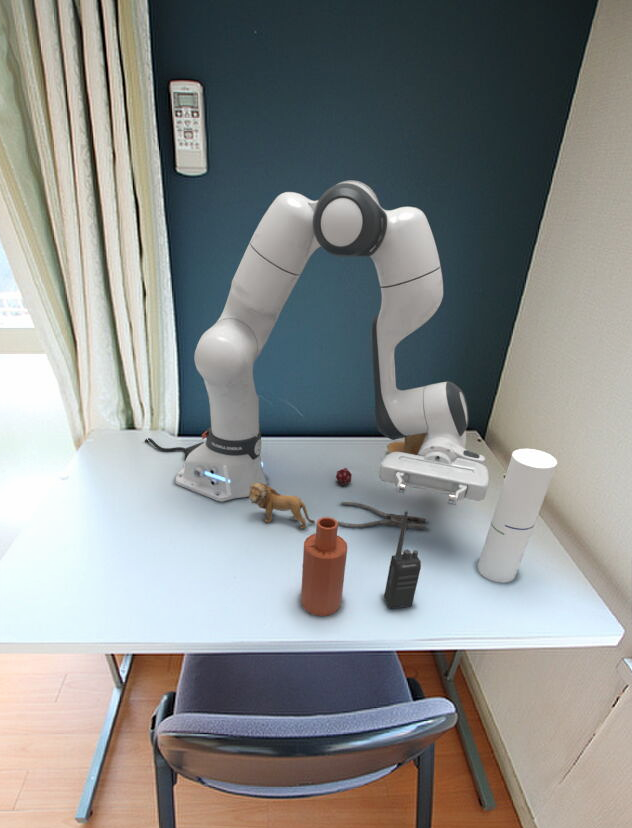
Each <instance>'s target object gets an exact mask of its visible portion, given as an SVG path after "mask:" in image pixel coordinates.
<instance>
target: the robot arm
mask: <svg viewBox="0 0 632 828" xmlns="http://www.w3.org/2000/svg"><path fill="white" fill-rule="evenodd" d="M319 248H322V249H323V251H325V252H326V253H328V254H330V255H332V256H335V257H339V258H357V257H358V258H359V257H361V258H362V257H363V258H365V257H370V259H371V260H372V262H373V264H374V268H375V270H376V274H377V279H378V283H379V286H380V293H381V294H380V295H381V302H380V308H379V312H378V313H377V315H376V316H374V317H373V319H372V322H371V329H370V331H371V333H370V341H371V343H370V347H371V359H372V361H371V362H372V373H373V384H374V385H373V388H374V419H375V425H376V429H377V431H378V432H379V433H380V434H382V436H384V437H386V438H388V439H389V440H391V441H396V440H400V439H405V437H408V436H410V435H417V434H423V433H427V435H426V437H425V439H424V441H423V444H422V446H421V448H420V450H419V452H418V454H417V455H413V454H408V453H403V452H392V453H390V454H389V453H387V454H385V457H384V458H383V459H382V461H381V463H380V466H379V471H378V478H379V479H380V480H381V481H383V482H385V483H386V482H387V483H390V484H393V485H394V486H395V487H396V490H395V491H396V493H399V494H403V495H404V494H405V492H406V490H407V487H410V488H414V489H420V490H425V491H429V492H434V493H439V494H444V495H449V496H448V501H447V504H450V505H455V506H457V504H458V503H457V502H459V501H461V500H464V499H467V500H472V501H476V502H480V501H483V500H484V499H485V497H486V495H487V491H488V487H489V482H490V479H489V478H490V477H489V475H490V474H489V470H488V468H487V467H486V466H485V464H486V457H485V456H484V455H482V454H480V453H477V452H473V451H470V450H468V449H466V447H467V428H468V426H469V423H470V422H469V421H470V414H469V406H468V401H467V397H466V395H465V392H464V391H463V390H462V389H461V388H460V387H459V386H457V385H456V384H455V383H454V382H453V381H450V380H448V381H444V382H437V383H432V384H427V385H424V386H420V387H414V388H410V389H404V390H403V389H398V388H397V383H396V381H397V380H396V365H395V364H396V363H395V351H396V347H397V345H398V344H400V343H401V341H402V340H404V339H405V338H406V337H407V336H410V335H411V334H412V333H413V332H415V331H416V330H418V329H419V328H420V327H422V326H423V325H424V324H426V323H427V322H428V321H429V320H430V319H431V318H432V317H433V316H434V315H435V313H436V312H437V311H438V309H439V307H440V305H441V303H442V302H443V298H444V281H443V272H442V267H441V262H440V256H439V253H438V252H439V251H438V248H437V245H436V241H435V238H434V234H433V231H432V229H431V226H430V223H429V221H428V218H427V215H426V214H425V213H424V211H422V210H421V209H419V208H418V207H414V206H401V207H398V208H394V209H391V210H388V209H384V208H383V207H382V206H381V202H380V199H379V197H378V195H377V193H376V192H375V190H374V189H373V188H372V187H370V185H368V184H366V183H364V182H361V181H358V180H354V179H352V180H344V181H341V182H338V183H337V184H334V185H333V186H331V187H329V188H328V189H327V190H325V192H324V193H322V195H320V197H319V198H318V199H317V200H312V199H310V198H308V197H307V196H305V195H303V194H301V193H298V192H294V191H285V192H282V193H280V194H279V195H278V196H276V197H275V198H274V200H273V201H272V203H271V204H270V205H269V207H268V209H266V212H265V213H264V215H263V216H262V218H261V219H260V221H259V223H258V225H257V227H256V228H255V231H253V234H252V237H251V239H250V241H249V243H248V245H247V247H246V249H245V251H244V254H243V256H242V258H241V260H240V263H239V265H238V267H237V269H236V272H235V274H234V276H233V278H232V280H231V285H230V289H229V292H228V296H227V299H226V302H225V305H224V308H223V311H221V312H222V313H221V315H220V316H219V317H218V319H217V321H216V322H215V323H214V324H213V325H212V326H210V328H208V329H207V330H206V331H205V332H203V334H201V336H200V338H199V340H198V343H197V345H196V348H195V350H194V354H193V355H194V356H193V358H194V364H195V368H196V370H197V372H198V373H199V375H200V376H201V377H202V378H203V383H204V386H205V388H206V392H207V397H208V402H209V414H210V427H207V429H205V431H204V433H203V434H201V436H202V437H201V440H204V439H206V440H205V441H201V442H198V443H196V444H193V445H189V446H188V447H181V446H177V447H169V448H168V447H162V446H160V445H158V443H156V442H155V441H154V440H153V439H152V438H151V437H147V438H148V440H149V441H148V440H147V438H145V439H144V443H148V442H150V444H152V445H153V447H155V448H156V449H157V450H159V451H162V452H175V451H176V452H177V451H183V452H184V465H183V467H182V468H181V469H180V470H179V471H178V472H177V474H176V476H175V484H176V485H177V486H180V487H182V488H185V489H187V490H189V491H191V492H192V491H193V492H195V493H196V494H197V493H198V494H199V495H202V496H205V497H207V498H209V499H212V500H214V501H216V502H222V503H223V502H227V501H231V500H233V499H241V498H247V497H249V491H250V486H252V485H253V484H254V483H262V484H265V485H267V479H266V475H265V473H264V469H263V467H264V462H263V461H262V457H261V454H262V429H261V428H260V398H259V395H258V394H257V391H256V386H255V381H254V365H255V361H256V360H257V359H258V357H259V356H260V355H261V353H262V351H263V349H264V348H265V345H266V344H267V341H268V340H269V338H270V335H271V333H272V331H273V330H274V327H275V326H276V323H277V321H278V319H279V316H280V314H281V312H282V311H283V308H284V306H285V305H286V303H287V301H288V299H289V297H290V295H291V293H292V291H293V290H294V288H295V286H296V284H297V283H298V280H299V279H300V276H301V275H302V273H303V271H304V269H305V267H306V265H307V264H308V262H309V259H310V258H311V256H312V255H313V254H314V252H315V251H316V250H318V249H319Z"/></svg>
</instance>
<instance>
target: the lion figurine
mask: <svg viewBox="0 0 632 828" xmlns="http://www.w3.org/2000/svg"><path fill="white" fill-rule="evenodd" d="M248 497H249V501H250V502H251V504H253V505H254V504H255V505H257V506H258V508H260V509H264V510H265V516H266V518H265V519H264V521H265V523H266V524H268V523H270V522H271V521H272V519H273V518H272V517H273V516H272V515H273V511H274V510H276V511H282V512H285V511H290V512H291V514H292V516H291V519H292V520H293V521H296V520H297V521H299V522H300V523H301V524H299V526H298V527H299V529H300V530H305V528H306V527H307V523H306V520H307V522H308V523H310V524H315V520H312V519H310V518H309V514H308V510H307V507H306V505H305V503H304V502H303V500H302V499H301V498H300V497H298V496H296V495H285V494H279V493H278V492H277V490H276V489H274V488H272V487H271V486H268V484H266V485H265V484H262V483H254V484H253V485H252V486H250V491H249V496H248ZM301 509H302V510H303V513H304V516H305V518H304V517H303V515H302V512H301Z"/></svg>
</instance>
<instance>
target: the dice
mask: <svg viewBox="0 0 632 828" xmlns="http://www.w3.org/2000/svg"><path fill="white" fill-rule="evenodd" d="M335 479H336V480H337V482H338V483H339V484H340V485H341V486H343V485H346V484H348V483H350V482H352V473H351V472H350V471H349V469H348V468H347V467H343V468H342V469H340V470H337V471H336V475H335Z"/></svg>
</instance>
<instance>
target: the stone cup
mask: <svg viewBox="0 0 632 828" xmlns="http://www.w3.org/2000/svg"><path fill="white" fill-rule="evenodd" d="M426 435H427V433H423V434H417V435H410V436H408V437H404V441H393V442H390V443H388V444H387V445H386V449H387V452H388V454H390V453H392V452H403V453H408V454H413V455H417V454H418V452H419V450H420V448H421V446H422V444H423V441H424V439H425V437H426Z"/></svg>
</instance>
